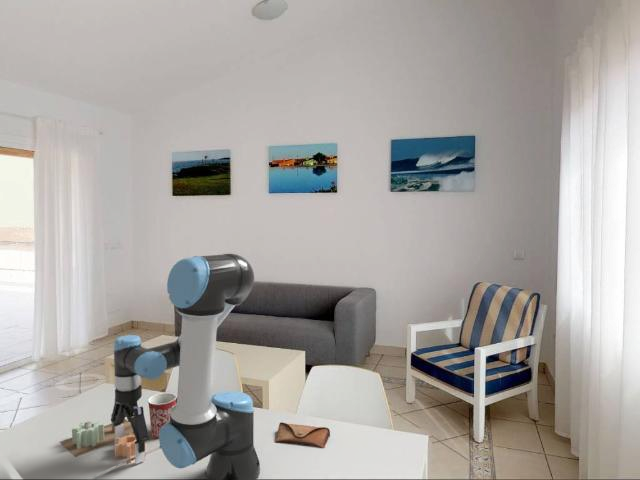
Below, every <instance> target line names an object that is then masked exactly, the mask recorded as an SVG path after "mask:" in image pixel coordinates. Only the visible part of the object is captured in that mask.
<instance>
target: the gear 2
mask: <svg viewBox="0 0 640 480" xmlns="http://www.w3.org/2000/svg"><path fill="white" fill-rule="evenodd" d="M135 442H136V438H135V435H134V434H133V432H132V433H129V435H127V436H124V437H123V438H120V437H118V438H116V444H115V443H114V445H113V446H114V458H118V457H120V456H122V457H124V458H125V457H126V459H127V460H126V461H125V462H126V464H131V463H132V461H134V460H135ZM132 456H134V457H132Z"/></svg>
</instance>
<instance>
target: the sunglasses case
mask: <svg viewBox="0 0 640 480" xmlns="http://www.w3.org/2000/svg"><path fill="white" fill-rule="evenodd" d="M330 437H331V431H330V428H328V427H326V426H325V427H324V426H320V427H319V426H310V425H303V424H295V423H291V424H290V423H287V422H279V425H278V429H277V432H276V436H275V439H274V441H273V443H278V444H279V443H280V444H289V445H290V444H291V445H298V446H307V447H308V446H309V447H313V448H314V447H315V448H318V449H320V448H321V449H325V448H326V445H327V443H328V441H329V439H330Z"/></svg>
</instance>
